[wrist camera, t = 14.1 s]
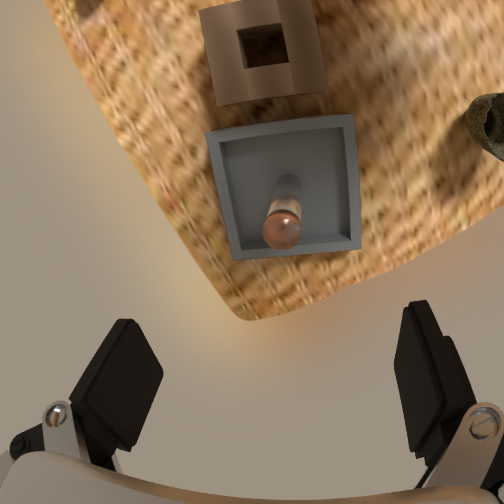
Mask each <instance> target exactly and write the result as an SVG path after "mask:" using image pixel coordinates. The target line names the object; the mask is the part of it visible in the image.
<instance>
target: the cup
mask: <svg viewBox="0 0 504 504" xmlns="http://www.w3.org/2000/svg"><path fill="white" fill-rule="evenodd" d="M465 121H466V124H467V126H468V128H469V131H470V133H471V135H472V137H473V139H474V140H475V141H476V142H477V143H478V144H479V145H480V146H481V147H482V148H484V149H485V150H486V151H488V152H489V153H491V154H492V155H494V156H495V157H497V158H498V159H500V160H501V161H503V162H504V93H493V94H486V95H482V96H479V97H477V98H476V99H475V100H474V101H473V102H472V103H471V104H470V106H469V108H468V109H467V111H466V114H465Z"/></svg>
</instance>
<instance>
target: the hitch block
mask: <svg viewBox="0 0 504 504" xmlns="http://www.w3.org/2000/svg"><path fill="white" fill-rule="evenodd" d="M198 11H199V16H200V21H201V27H202V32H203V37H204V42H205V47H206V52H207V58H208V63H209V68H210V73H211V78H212V83H213V88H214V93H215V98H216V104H217V107H218V106H225V105H231V104H237V103H243V102H248V101H254V100H261V99H268V98H275V97H282V96H290V95H299V94H309V93H320V92H327V91H329V89H328V83H327V77H326V71H325V65H324V59H323V54H322V49H321V44H320V39H319V34H318V29H317V24H316V20H315V15H314V11H313V7H312V2H311V0H241V1H236V2H231V3H226V4H222V5H218V6H214V7H210V8H206V9H202V10H198ZM282 35H283V36H284V41H285V46H286V51H287V56H288V61H289V63H281V64H274V65H267V66H260V67H254V68H251V64H250V58H249V53H248V48H247V43H246V41H249V40H255V39H261V38H268V37H275V36H282Z"/></svg>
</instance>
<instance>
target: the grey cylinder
mask: <svg viewBox="0 0 504 504" xmlns="http://www.w3.org/2000/svg"><path fill="white" fill-rule="evenodd" d="M301 207H302V183H301V180H300V179H299V178H298V177H297V176H295V175H293V174H286V175H283V176H282V177H280V178H279V180H278V182H277V185H276V189H275V192H274V195H273V199H272V202H271V205H270V209H269V212H268V215H267V218H266V220H265V223H264V226H263V237H264V240H265V241H266V243H267V244H268V245H270V246H271V247H273V248H275V249H278V250H287V249H290V248H292V247H294V246H295V245H296V244H297V243H298V242H299V240H300V237H301Z"/></svg>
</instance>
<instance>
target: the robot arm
mask: <svg viewBox="0 0 504 504" xmlns="http://www.w3.org/2000/svg"><path fill="white" fill-rule="evenodd" d="M394 370H395V375H396V380H397V384H398V389H399V393H400V398H401V403H402V408H403V414H404V419H405V425H406V431H407V437H408V443H409V449H410V452H415V456H416V459H418V458H422V457H424V459H425V465H426V466H428V467H427V469H426V470H425V471H424V473H423V475H422V476H421V478H420V479H419V481H418V482H417V484H416V485H415V486H414V488H413V489H412V490H405V491H398V492H391V493H385V494H378V495H370V496H362V497H351V498H339V499H323V500H268V499H267V500H266V499H251V498H239V497H230V496H221V495H214V494H207V493H201V492H194V491H189V490H184V489H179V488H174V487H169V486H165V485H161V484H156V483H152V482H148V481H145V480H140V479H137V478H134V477H130V476H127V475H124V474H123V473H122V470H121V467H120V464H119V462H118V459H117V456H116V453H115V450H116V448H118V449H120V450H124V451H127V452H130V451H131V448H132V446H134V445H135V444H136V443H137V440H138V438H139V435H140V432H141V430H142V427H143V425H144V422H145V420H146V417H147V415H148V412H149V410H150V408H151V405H152V403H153V400H154V398H155V395H156V393H157V390H158V388H159V385H160V383H161V381H162V378H163V369H162V367H161V365H160V363H159V361H158V360H157V358H156V356H155V354H154V353H153V351H152V349H151V347H150V345H149V343H148V341H147V339H146V338H145V336H144V334H143V332H142V330H141V328H140V326H139V325H138V323H136V322H135V321H134V320H133V319H118V320H117V321H116V322H115V324H114V325H113V327H112V328H111V330H110V331H109V333H108V335H107V336H106V338H105V339H104V341H103V342H102V344H101V346H100V347H99V349H98V350H97V352H96V353H95V355H94V357H93V358H92V360H91V361H90V363H89V365H88V366H87V368H86V370H85V371H84V373H83V375H82V376H81V378H80V380H79V381H78V383H77V385H76V386H75V388H74V390H73V392H72V393H71V395H70V397H69V400H70V401H71V402H72V403H71V405H69V404H68V403H67V402H65V401H56V402H54V403H52V404H51V405H49V406H48V407H47V409H46V410H45V411H44V414H43V416H42V423H41V424H39V425H37V426H35V427H33V428H31V429H28V430H26V431H24V432H22V433H20V434H18V435H17V436H16V437H14V439H13V440H12V442H11V444H10V452H9V451H8V450H7V451H5V452H4V453H3V454H2V455H1V456H0V504H504V414H503V412H502V411H501V410H500V408H499V407H498V406H496V405H494V404H492V403H488V402H481V403H477V401H476V399H475V395H474V393H473V390H472V387H471V384H470V382H469V379H468V377H467V374H466V371H465V369H464V366H463V364H462V361H461V359H460V356H459V354H458V352H457V349H456V347H455V345H454V342H453V341H452V339H451V337H450V336H443V334H442V332H441V330H440V327H439V325H438V323H437V321H436V318H435V316H434V314H433V312H432V310H431V308H430V306H429V304H428V302H427V300H421V301H413V302H410V303H409V305H408V307H405V308H404V310H403V316H402V322H401V328H400V333H399V339H398V344H397V349H396V354H395V359H394Z"/></svg>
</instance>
